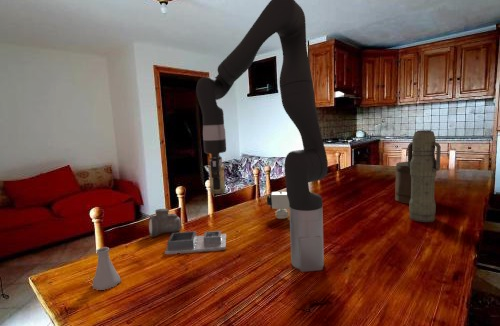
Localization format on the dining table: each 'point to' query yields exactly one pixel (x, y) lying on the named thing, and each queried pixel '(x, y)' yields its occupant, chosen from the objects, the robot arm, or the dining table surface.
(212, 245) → the plate
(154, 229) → the pipe fitting
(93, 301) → the dining table surface
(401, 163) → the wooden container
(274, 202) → the pneumatic valve
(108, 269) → the flask
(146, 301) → the dining table surface
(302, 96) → the robot arm
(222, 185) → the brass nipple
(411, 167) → the thermos
